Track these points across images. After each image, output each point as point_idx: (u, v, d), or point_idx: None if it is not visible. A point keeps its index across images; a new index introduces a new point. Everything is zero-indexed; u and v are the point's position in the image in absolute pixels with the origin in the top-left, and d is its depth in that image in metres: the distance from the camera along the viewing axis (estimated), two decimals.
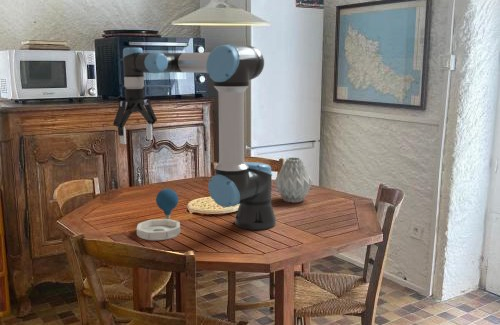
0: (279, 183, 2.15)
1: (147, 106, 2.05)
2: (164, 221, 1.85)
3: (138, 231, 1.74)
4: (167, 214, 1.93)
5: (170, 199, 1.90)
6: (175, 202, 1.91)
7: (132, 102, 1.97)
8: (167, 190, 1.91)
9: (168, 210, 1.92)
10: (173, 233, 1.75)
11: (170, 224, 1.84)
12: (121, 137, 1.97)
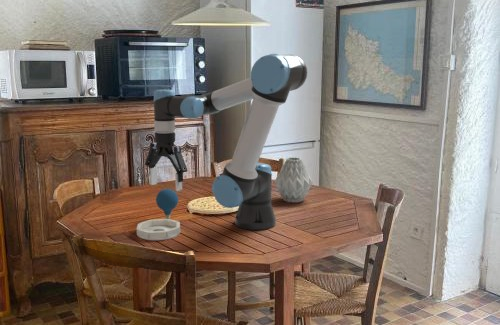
0: (279, 183, 2.15)
1: None
2: (164, 221, 1.85)
3: (138, 231, 1.74)
4: (167, 214, 1.93)
5: (170, 199, 1.90)
6: (175, 202, 1.91)
7: (158, 145, 1.90)
8: (167, 190, 1.91)
9: (168, 210, 1.92)
10: (173, 233, 1.75)
11: (170, 224, 1.84)
12: None
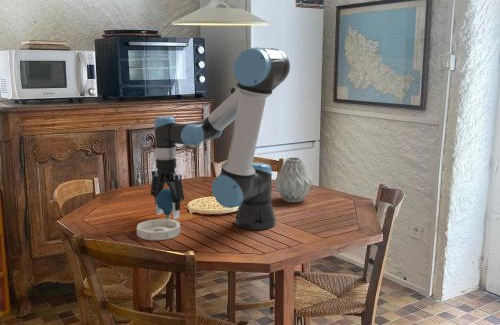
0: (279, 183, 2.16)
1: None
2: (164, 221, 1.85)
3: (138, 231, 1.74)
4: (167, 214, 1.93)
5: (170, 199, 1.90)
6: None
7: (159, 171, 1.92)
8: (167, 190, 1.91)
9: (168, 210, 1.92)
10: (173, 233, 1.75)
11: (170, 224, 1.84)
12: None
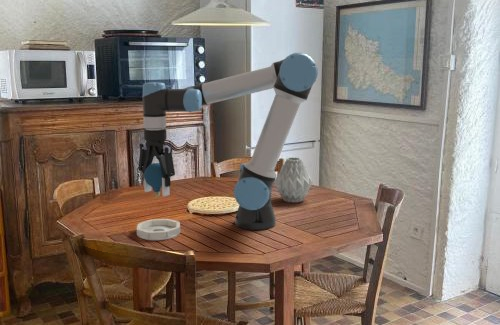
0: (279, 183, 2.15)
1: None
2: (164, 221, 1.85)
3: (138, 231, 1.74)
4: (156, 191, 1.75)
5: (159, 174, 1.71)
6: None
7: (148, 143, 1.74)
8: (156, 164, 1.73)
9: (157, 186, 1.74)
10: (173, 233, 1.75)
11: (170, 224, 1.84)
12: None
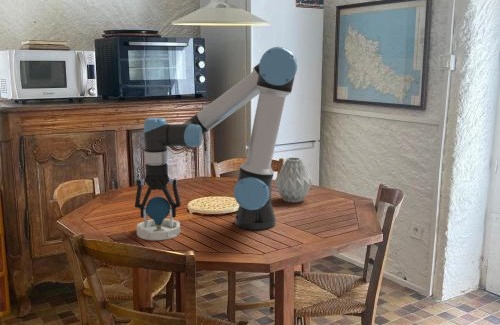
0: (279, 183, 2.15)
1: (172, 186, 1.76)
2: (164, 221, 1.85)
3: (138, 231, 1.74)
4: (160, 224, 1.78)
5: (167, 206, 1.76)
6: None
7: (149, 178, 1.74)
8: (160, 198, 1.76)
9: (163, 219, 1.77)
10: (173, 233, 1.75)
11: None
12: None
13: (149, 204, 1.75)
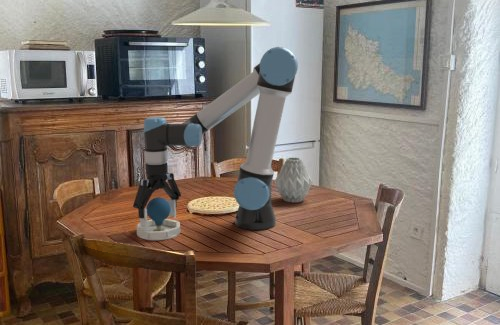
0: (279, 183, 2.15)
1: (170, 180, 1.80)
2: (164, 221, 1.85)
3: (138, 231, 1.74)
4: None
5: None
6: None
7: (154, 179, 1.73)
8: (161, 198, 1.77)
9: None
10: (173, 233, 1.75)
11: (170, 224, 1.84)
12: (142, 219, 1.73)
13: (157, 206, 1.74)
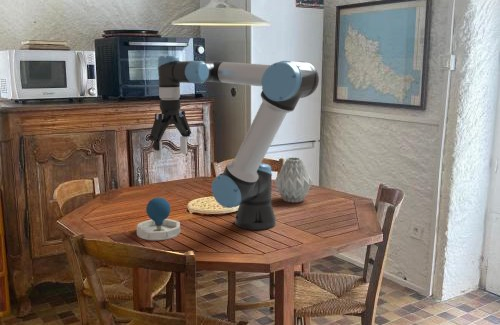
0: (279, 183, 2.15)
1: (181, 118, 1.91)
2: (164, 221, 1.85)
3: (138, 231, 1.74)
4: None
5: None
6: None
7: (168, 114, 1.84)
8: (161, 198, 1.77)
9: None
10: (173, 233, 1.75)
11: (170, 224, 1.84)
12: (157, 152, 1.83)
13: (157, 206, 1.74)
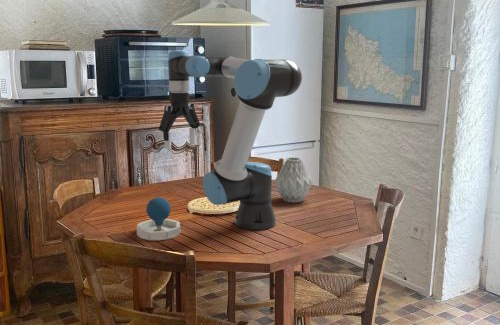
0: (279, 183, 2.15)
1: (190, 110, 2.00)
2: (164, 221, 1.85)
3: (138, 231, 1.74)
4: None
5: None
6: None
7: (177, 106, 1.93)
8: (161, 198, 1.77)
9: None
10: (173, 233, 1.75)
11: (170, 224, 1.84)
12: (166, 142, 1.93)
13: (157, 206, 1.74)
